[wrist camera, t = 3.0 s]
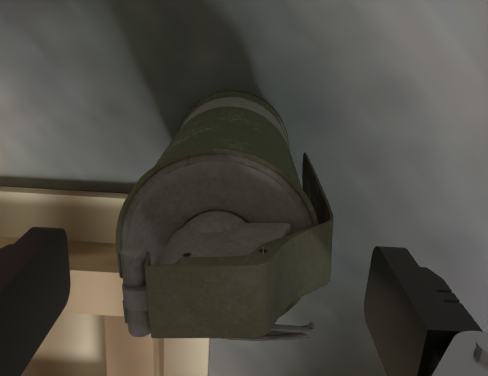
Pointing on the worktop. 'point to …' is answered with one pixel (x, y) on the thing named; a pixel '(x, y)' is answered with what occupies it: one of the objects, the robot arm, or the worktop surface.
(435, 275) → the robot arm
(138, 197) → the grenade
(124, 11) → the worktop surface
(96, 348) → the socket block
